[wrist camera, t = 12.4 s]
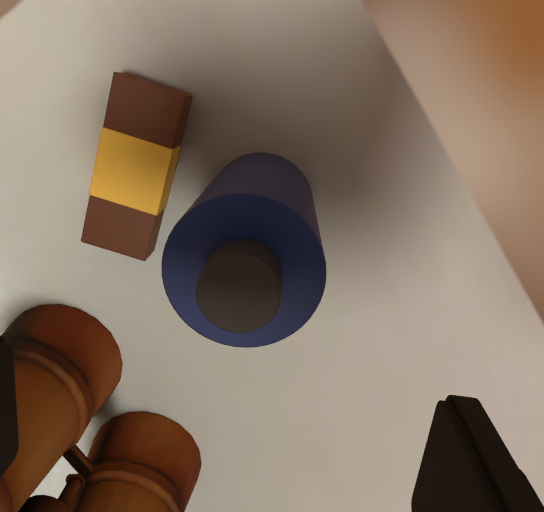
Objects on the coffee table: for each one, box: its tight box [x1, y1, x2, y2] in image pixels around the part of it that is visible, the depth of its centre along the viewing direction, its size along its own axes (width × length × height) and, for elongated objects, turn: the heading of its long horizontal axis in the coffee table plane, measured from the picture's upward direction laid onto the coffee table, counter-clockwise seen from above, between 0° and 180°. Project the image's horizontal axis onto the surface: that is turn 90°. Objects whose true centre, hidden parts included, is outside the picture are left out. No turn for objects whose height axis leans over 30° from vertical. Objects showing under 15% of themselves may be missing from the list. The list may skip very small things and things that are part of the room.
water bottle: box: [162, 153, 326, 347], centre depth 24 cm, size 6×6×14 cm
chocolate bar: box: [81, 72, 192, 261], centre depth 29 cm, size 10×4×2 cm, turn 162°
